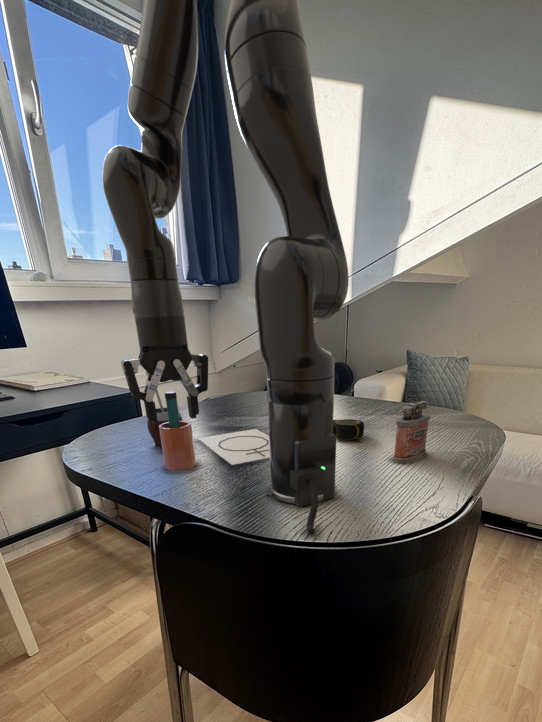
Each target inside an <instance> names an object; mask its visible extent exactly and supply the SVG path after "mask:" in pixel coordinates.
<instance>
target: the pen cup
mask: <svg viewBox="0 0 542 722" xmlns="http://www.w3.org/2000/svg"><path fill="white" fill-rule="evenodd" d="M192 429H193V428H192V423H191V422H190V421H187V420H183V421H180V427H178V428H170V425H169V422H166V423H163V424H160V425H159V431H160V437H161V444H162V447H161V450H163V451H162V455H163V462H164V467H165V469H166V470H168V471H174V472H179V471H186V470H190V469H192V468H194V467H196V465H197V460H196V453H195V452H196V451H195V445H194V436H193V430H192Z"/></svg>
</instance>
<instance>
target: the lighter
mask: <svg viewBox="0 0 542 722" xmlns="http://www.w3.org/2000/svg"><path fill="white" fill-rule="evenodd" d="M427 409H428V402H427V401H425V400H421V401H418V402H415V403H414V402H408V403H407V406H403V407H402V416H401V417H399V418H396V420H395V425H396V431H395V432H396V433H395V444H394V454H393V455H392V462H394V463H395V464H407V463H408V464H409V463H413V462H415V461H417V460H420V459H422V458H424V457H425V456H426V454H427V450H426V445H427V438H428V429H429V421H430V420H431V414H429V413H424V412H423V410H427Z"/></svg>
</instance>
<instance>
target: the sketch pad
mask: <svg viewBox="0 0 542 722" xmlns="http://www.w3.org/2000/svg"><path fill="white" fill-rule="evenodd" d="M197 439H198V440H199V441H200V442H202V443H203V444H204V445H205V446H207V447H208V448H209V449H211V450H212V451H213V452H214V453H216V454H217V456H219V457H220V458H222V459H223V460H224V461H226V462H227V463H228V464H230V465H231V466H235V465H240V464H245V463H250V462H255V461H261V460H264V459H270V447H269V434H266V433H265V432H263V431H262V430H259V429H257V428H252V429H247V430H241V431H234V432H228V433H222V434H217V435H216V434H215V435H211V436H205V437H199V438H197Z"/></svg>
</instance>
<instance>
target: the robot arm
mask: <svg viewBox="0 0 542 722" xmlns="http://www.w3.org/2000/svg"><path fill="white" fill-rule="evenodd" d="M197 1H198V0H143V2H142V3H143V5H142V11H141V19H140V25H139V26H140V28H139V34H138V40H137V44H136V50H135V54H134V55H135V56H134V62H133V66H132V72H131V79H130V85H129V89H128V94H127V95H128V96H127V110H128V114H129V116H130V118H131V119H132V120H133V122H134V123H135V124H136V125H137V126H138V127H139V129H140V133H141V134H140V135H141V136H140V137H141V148H140V149H141V150H138V149H136V148H133V147H131V146H128V145H123V144H119V145H115V146H113V147H112V148H111V149H110V150H108V152H107V153H106V155H105V158H104V161H103V163H102V164H103V165H102V173H101V175H102V176H101V177H102V188H103V193H104V196H105V199H106V202H107V205H108V208H109V211H110V215H111V217H112V220H113V221H114V224H115V227H116V230H117V233H118V234H119V238H120V239H121V243H122V245H123V246H124V249H125V253H126V261H127V268H128V275H129V281H130V289H131V290H130V291H131V303H132V314H133V316H134V321H135V327H136V334H137V339H138V346H139V354H138V357H137V358H134V359H129V360H127V359H122V361H121V367H122V371H123V375H124V376H125V377H124V378H125V380H126V384H127V387H128V390H129V392H130V395H131V396H132V398H133V399H135V400H140V401H142V402H143V404H144V410H145V415H146V419H147V418H148V419H147V421H148V420H149V421H151V422H152V423H153V424H158V420H157V413H156V409H157V407H156V402H155V400H154V398H155V395H156V393H155V391H156V389H157V390H158V388H159V385H160V383H166V382H169V381H172V382H173V381H174V382H177V381H179V382H180V383H181V385H182V386H183V388H184V389H185V390H186V392H187V395H186V402H187V410H188V416H189V418H190V419H192V420H193V419H197V416H198V415H199V414H200V408H199V406H200V405H199V398H198V397H199V395H200V394H201V393H203V392H204V393H205V392H207V391H208V390H209V356H208V355H206V354H203V353H199V354H192V352H191V351H190V349H189V344H188V337H187V327H186V319H185V310H184V303H183V296H182V291H181V287H180V283H179V274H178V266H177V258H176V257H177V256H176V251H175V246H174V243H173V242H172V240H171V239H170V238H169V237H168V236H167V235H165V234H164V233H162V232H161V230H160V227H159V226H158V223H157V220H159V219H163V218H165V217H167V216H168V215H169V214H170V213H171V212H172V210H173V209H174V207H175V205H176V203H177V201H178V198H179V194H180V189H181V179H182V158H183V130H184V127H185V122H186V118H187V116H188V111H189V107H190V102H191V98H192V94H193V90H194V87H195V81H196V76H197V71H198V60H199V20H198V19H199V18H198V2H197ZM223 40H224V42H223V43H224V44H223V53H224V55H223V56H224V65H225V71H226V77H227V82H228V86H229V92H230V96H231V101H232V106H233V107H232V108H233V111H234V116H235V119H236V122H237V127H238V129H239V133H240V136H241V137H242V140H243V142H244V144H245V146H246V148H247V150H248V152H249V154H250V155H251V157H252V160H253V161H254V163H255V165H256V167H257V168H258V170H259V172H260V174H261V175H262V177H263V179H264V180H265V182H266V184H267V185H268V187H269V189H270V191H271V192H272V194H273V196H274V198H275V200H276V203H277V205H278V207H279V210H280V212H281V216H282V219H283V223H284V226H285V232H286V235H283V236H282V235H281V236H277V237H274V238H272V239H270V240H269V241H268V242H266V243H265V245H264V246H263V247H262V249H261V251H260V252H259V254H258V258H257V261H256V264H255V269H254V279H253V286H254V288H253V289H254V290H253V291H254V304H255V305H254V306H255V313H256V314H255V315H256V325H257V334H258V335H257V336H258V346H259V351H260V355H261V358H262V360H263V363H264V365H265V374H266V375H265V376H266V398H267V421H268V422H267V424H268V436H269V447H270V458H269V466H270V469H269V470H270V493H271V496H272V497H273V498H274V499H276V500H278V501H280V502H282V503H283V502H284V503H288V504H294V505H296V506H297V507H304V506H308V505H310V510H309V514H308V518H307V522H306V530H307V533H308V534H309V535H310V536H313V535H315V533H316V531H315V528H314V525H315V520H316V518H317V517H316V516H317V513H318V509H319V502H323V501H326V500H330V499H334V498H335V497H336V463H337V438H336V436H335V435H333V420H334V408H335V405H334V404H335V372H336V371H335V365H336V364H335V363H336V361H335V357H334V355H333V353H331V351H329V350H327V349H325V348H323V347H322V346H321V345H320V343H319V342H318V340H317V339H316V338H317V337H316V334H315V333H316V332H315V321H316V322H320V321H325V320H328V319H331V318H333V317H334V316H336V315H337V314H338V313H339V312H340V310H341V309H342V307H343V305H344V304H345V301H346V298H347V296H348V290H349V281H350V280H349V279H350V277H349V266H348V259H347V256H346V251H345V248H344V247H345V246H344V242H343V239H342V235H341V230H340V228H339V223H338V218H337V215H336V212H335V208H334V204H333V199H332V196H331V191H330V190H331V189H330V186H329V180H328V175H327V169H326V164H325V158H324V157H325V156H324V152H323V146H322V140H321V135H320V134H321V133H320V128H319V123H318V116H317V110H316V102H315V95H314V86H313V80H312V74H311V68H310V61H309V54H308V49H307V48H308V47H307V43H306V38H305V34H304V28H303V22H302V16H301V10H300V4H299V0H230V4H229V8H228V13H227V18H226V23H225V31H224V39H223ZM191 363H193V367H195V368H196V384H194V382H193V380H192V378H191V377H190V375H189V374H188V371H187V370H188V368H189V367H190V365H191ZM139 366H141V367H142V368H143V369H144V370H145V372H148V373H149V374H148V376H147V377H146V381H145V386H144V389H143V391H142V390H140V387H139V384H138V379H137V377H136V374H138V373H139Z"/></svg>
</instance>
